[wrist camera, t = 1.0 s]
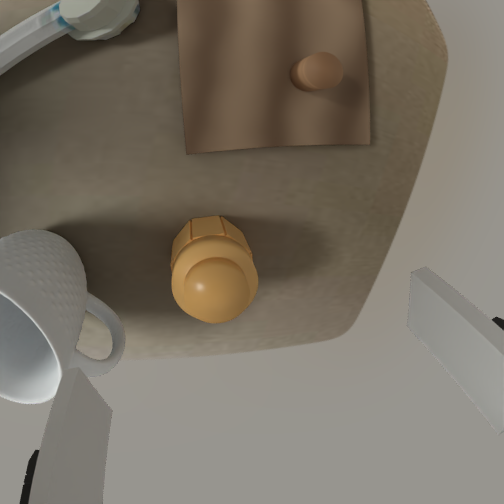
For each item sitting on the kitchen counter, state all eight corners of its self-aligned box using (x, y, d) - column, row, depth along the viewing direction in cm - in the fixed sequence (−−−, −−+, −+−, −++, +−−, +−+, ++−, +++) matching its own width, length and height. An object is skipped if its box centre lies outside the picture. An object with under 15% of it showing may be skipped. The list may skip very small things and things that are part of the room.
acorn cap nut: (180, 285, 30) (179, 337, 23) (169, 221, 27) (163, 261, 20) (246, 276, 31) (264, 325, 24) (241, 212, 28) (260, 248, 21)
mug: (156, 266, 29) (142, 365, 17) (112, 343, 31) (93, 442, 19) (25, 189, 23) (-61, 245, 11) (-1, 279, 26) (-61, 356, 14)
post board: (186, 152, 25) (185, 161, 20) (176, -37, 18) (175, -66, 13) (361, 142, 27) (395, 150, 22) (349, -27, 20) (378, -46, 15)
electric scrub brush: (-91, 102, 12) (114, -51, 11) (-52, 95, 18) (139, -21, 17) (-85, 148, 15) (122, 5, 14) (-45, 135, 21) (148, 27, 20)
